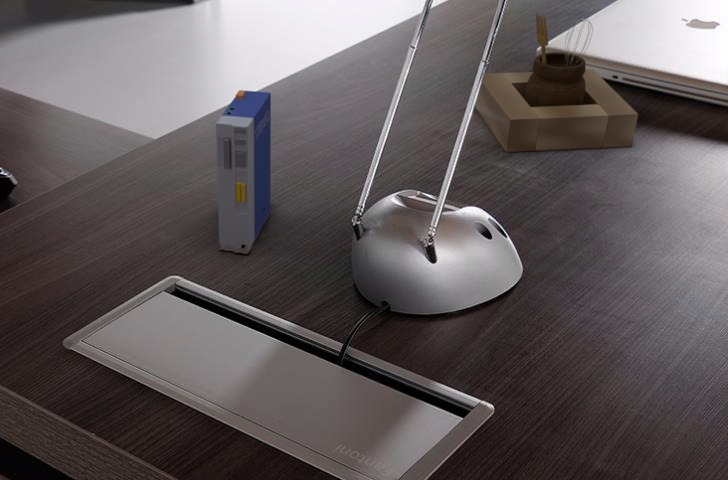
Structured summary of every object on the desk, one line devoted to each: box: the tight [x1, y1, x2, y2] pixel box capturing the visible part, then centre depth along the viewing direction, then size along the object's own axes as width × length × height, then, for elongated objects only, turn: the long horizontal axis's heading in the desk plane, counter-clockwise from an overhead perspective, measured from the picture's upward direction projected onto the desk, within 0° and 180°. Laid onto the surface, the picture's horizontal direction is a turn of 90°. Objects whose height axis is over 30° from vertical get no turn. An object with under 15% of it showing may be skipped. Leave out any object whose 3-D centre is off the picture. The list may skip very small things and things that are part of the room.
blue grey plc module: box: [215, 89, 272, 250], centre depth 93 cm, size 8×3×12 cm, turn 164°
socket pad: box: [474, 68, 639, 153], centre depth 114 cm, size 13×13×4 cm
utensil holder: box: [525, 13, 594, 107], centre depth 112 cm, size 6×6×12 cm
